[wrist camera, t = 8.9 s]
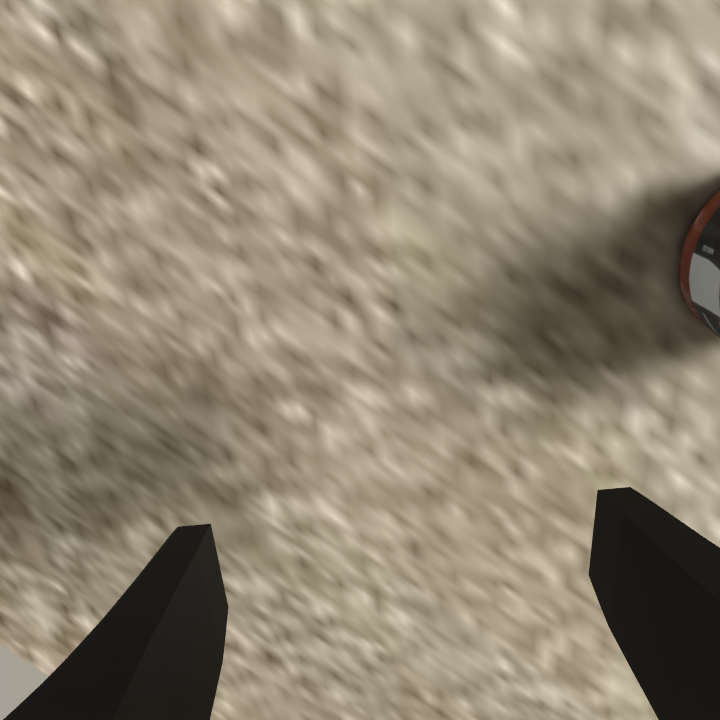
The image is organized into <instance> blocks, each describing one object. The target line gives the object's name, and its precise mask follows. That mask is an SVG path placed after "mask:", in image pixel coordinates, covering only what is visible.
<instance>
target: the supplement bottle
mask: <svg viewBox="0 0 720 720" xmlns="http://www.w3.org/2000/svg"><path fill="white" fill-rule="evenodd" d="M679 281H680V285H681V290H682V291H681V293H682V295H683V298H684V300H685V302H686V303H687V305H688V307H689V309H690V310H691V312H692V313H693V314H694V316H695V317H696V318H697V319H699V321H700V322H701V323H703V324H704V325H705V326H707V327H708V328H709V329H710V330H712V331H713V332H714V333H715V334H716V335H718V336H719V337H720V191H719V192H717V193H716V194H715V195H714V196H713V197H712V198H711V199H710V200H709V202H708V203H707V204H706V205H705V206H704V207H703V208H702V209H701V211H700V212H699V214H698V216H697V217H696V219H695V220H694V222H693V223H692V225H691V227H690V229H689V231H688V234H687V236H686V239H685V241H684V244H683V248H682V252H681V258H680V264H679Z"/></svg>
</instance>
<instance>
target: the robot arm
mask: <svg viewBox="0 0 720 720" xmlns="http://www.w3.org/2000/svg"><path fill="white" fill-rule="evenodd" d="M589 577H590V580H591V582H592V585H593V588H594V590H595V593H596V596H597V598H598V601H599V604H600V606H601V609H602V611H603V613H604V616H605V618H606V621H607V623H608V626H609V628H610V630H611V632H612V634H613V636H614V637H615V639H616V641H617V643H618V645H619V647H620V649H621V651H622V653H623V654H624V656H625V658H626V660H627V662H628V664H629V666H630V668H631V669H632V671H633V673H634V675H635V677H636V679H637V680H638V682H639V684H640V686H641V688H642V690H643V691H644V693H645V695H646V697H647V699H648V701H649V703H650V704H651V706H652V708H653V710H654V712H655V714H656V715H657V717H658V719H659V720H720V548H719V547H718V546H716V545H715V544H713V543H712V542H710V541H709V540H707V539H706V538H704V537H703V536H701V535H700V534H698V533H697V532H695V531H694V530H693V529H691V528H690V527H688V526H687V525H685V524H684V523H682V522H681V521H680V520H678V519H677V518H675V517H674V516H672V515H671V514H669V513H668V512H667V511H665V510H664V509H662V508H661V507H659V506H658V505H656V504H655V503H654V502H652V501H651V500H649V499H648V498H646V497H645V496H643V495H642V494H640V493H639V492H637V491H636V490H634V489H632V488H631V487H627V488H615V489H604V490H598V492H597V502H596V511H595V520H594V530H593V539H592V549H591V558H590V567H589ZM227 615H228V604H227V599H226V594H225V589H224V585H223V580H222V575H221V570H220V566H219V561H218V556H217V551H216V547H215V542H214V537H213V532H212V528H211V524H205V525H193V526H182V527H177V528H176V529H175V531H174V532H173V533H172V534H171V535H170V537H169V538H168V539H167V540H166V541H165V543H164V544H163V545H162V547H161V548H160V549H159V550H158V552H157V553H156V554H155V556H154V557H153V558H152V559H151V561H150V562H149V563H148V564H147V566H146V567H145V568H144V569H143V571H142V572H141V573H140V574H139V576H138V577H137V578H136V579H135V581H134V582H133V583H132V584H131V586H130V587H129V588H128V589H127V590H126V592H125V593H124V594H123V595H122V596H121V598H120V599H119V600H118V601H117V602H116V604H115V605H114V606H113V607H112V608H111V610H110V611H109V612H108V613H107V614H106V616H105V617H104V618H103V619H102V620H101V621H100V622H99V624H98V625H97V626H96V627H95V628H94V629H93V630H92V631H91V632H90V633H89V635H88V636H87V637H86V638H85V639H84V640H83V641H82V642H81V643H80V644H79V646H78V647H77V648H76V649H75V650H74V651H73V652H72V653H71V654H70V655H69V656H68V658H67V659H66V660H65V661H64V662H63V663H62V664H61V665H60V666H59V667H58V668H57V669H56V670H55V671H54V672H53V673H52V674H51V675H50V676H49V677H48V678H47V679H46V680H45V681H44V682H43V683H42V684H41V685H40V686H39V687H38V688H37V689H36V690H35V691H34V692H33V693H31V695H29V696H28V697H27V698H26V699H25V700H24V701H23V702H22V703H21V704H20V705H19V706H18V707H17V708H16V709H15V710H13V711H12V712H11V713H10V714H9V715H8V716H7V717H6V718H4V719H3V720H210V716H211V712H212V707H213V703H214V698H215V694H216V689H217V685H218V680H219V676H220V671H221V666H222V662H223V653H224V645H225V636H226V625H227Z"/></svg>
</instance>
